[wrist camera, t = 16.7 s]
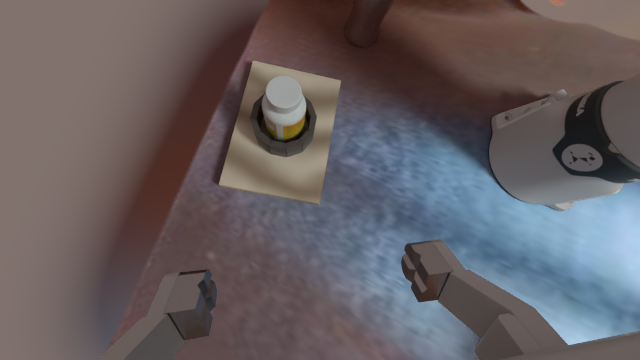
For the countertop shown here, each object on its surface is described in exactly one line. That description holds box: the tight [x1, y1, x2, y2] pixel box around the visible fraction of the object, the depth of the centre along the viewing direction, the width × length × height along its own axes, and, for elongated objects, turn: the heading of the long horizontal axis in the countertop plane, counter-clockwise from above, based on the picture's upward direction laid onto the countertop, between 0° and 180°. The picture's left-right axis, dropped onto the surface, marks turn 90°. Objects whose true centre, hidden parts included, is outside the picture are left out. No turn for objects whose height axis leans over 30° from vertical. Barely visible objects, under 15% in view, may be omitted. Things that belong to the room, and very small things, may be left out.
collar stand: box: [219, 61, 341, 205], centre depth 35 cm, size 20×14×5 cm
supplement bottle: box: [262, 76, 306, 143], centre depth 32 cm, size 5×5×10 cm
